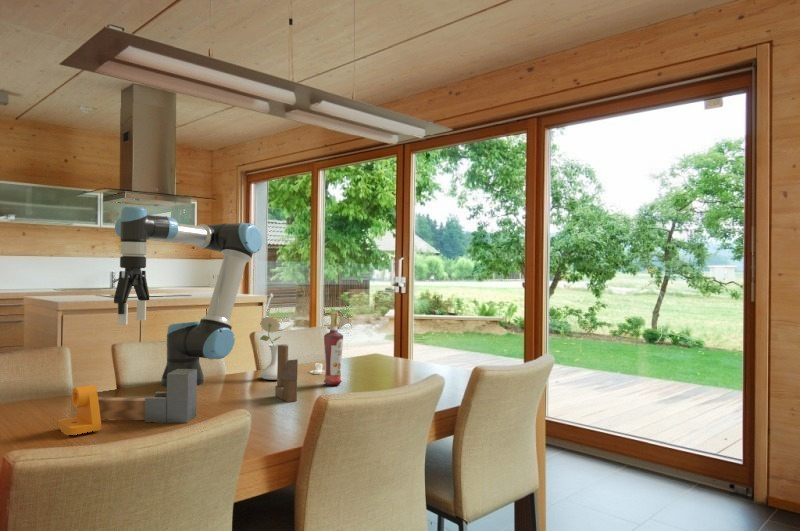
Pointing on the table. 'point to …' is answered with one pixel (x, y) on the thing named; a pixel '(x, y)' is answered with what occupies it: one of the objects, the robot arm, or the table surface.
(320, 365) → the teacup and saucer
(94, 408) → the bracket
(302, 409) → the table surface
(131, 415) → the brown wooden bar
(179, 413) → the grey stepped block
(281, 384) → the wooden block
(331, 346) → the liquor
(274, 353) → the flower in vase
